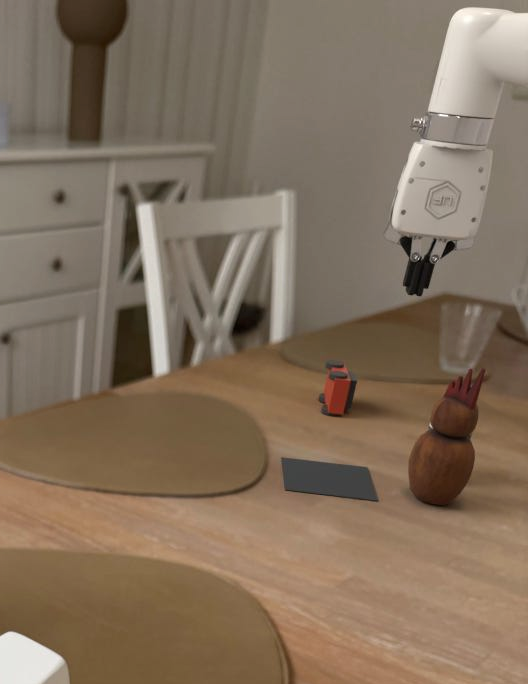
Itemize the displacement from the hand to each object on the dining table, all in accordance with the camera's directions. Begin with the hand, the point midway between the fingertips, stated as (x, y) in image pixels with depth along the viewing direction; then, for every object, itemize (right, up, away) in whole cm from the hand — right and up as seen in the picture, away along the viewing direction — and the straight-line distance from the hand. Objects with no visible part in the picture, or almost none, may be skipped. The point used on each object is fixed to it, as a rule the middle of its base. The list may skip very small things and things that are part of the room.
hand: (413, 293), depth 125 cm
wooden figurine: (-4, -29, -17) cm, 33 cm away
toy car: (-8, -12, +9) cm, 17 cm away
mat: (-15, -26, -14) cm, 33 cm away
